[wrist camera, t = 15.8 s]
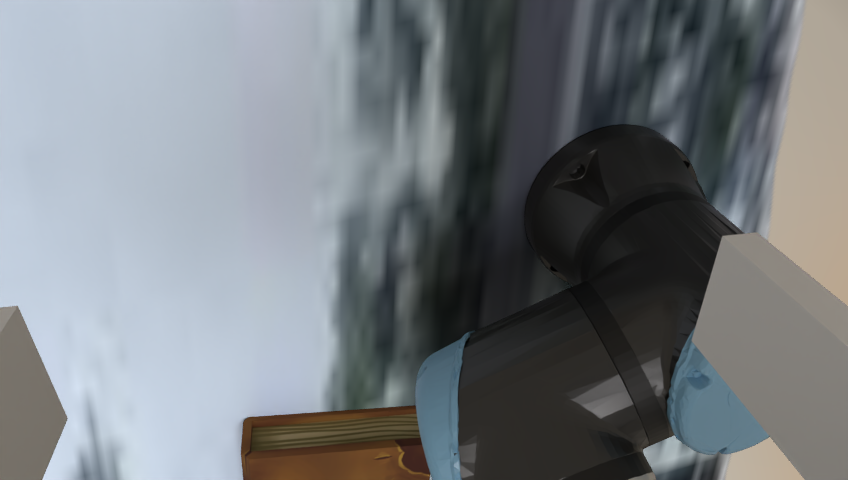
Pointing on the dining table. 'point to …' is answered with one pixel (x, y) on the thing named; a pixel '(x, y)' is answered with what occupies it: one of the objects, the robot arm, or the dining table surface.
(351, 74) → the dining table surface
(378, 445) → the diary
